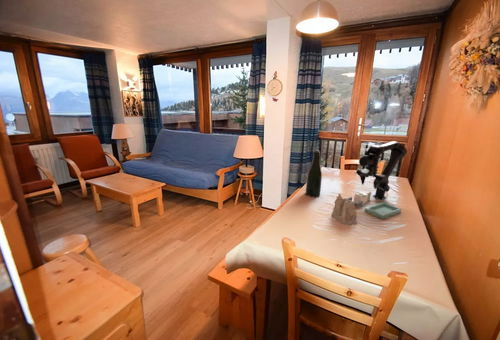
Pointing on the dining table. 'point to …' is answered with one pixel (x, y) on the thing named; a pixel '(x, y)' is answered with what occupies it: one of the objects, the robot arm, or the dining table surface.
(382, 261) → the dining table surface
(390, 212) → the tray
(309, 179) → the beer bottle
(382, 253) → the dining table surface
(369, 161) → the robot arm
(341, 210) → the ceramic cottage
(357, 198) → the teal striped block
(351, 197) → the bay
